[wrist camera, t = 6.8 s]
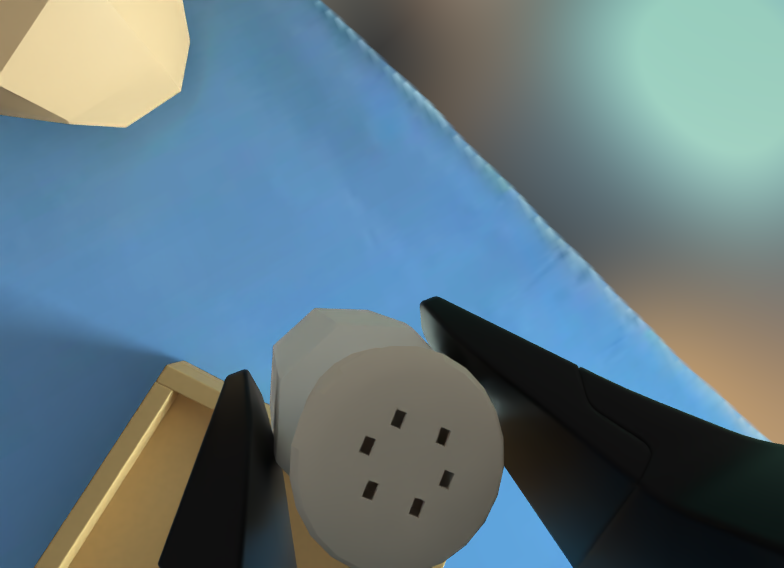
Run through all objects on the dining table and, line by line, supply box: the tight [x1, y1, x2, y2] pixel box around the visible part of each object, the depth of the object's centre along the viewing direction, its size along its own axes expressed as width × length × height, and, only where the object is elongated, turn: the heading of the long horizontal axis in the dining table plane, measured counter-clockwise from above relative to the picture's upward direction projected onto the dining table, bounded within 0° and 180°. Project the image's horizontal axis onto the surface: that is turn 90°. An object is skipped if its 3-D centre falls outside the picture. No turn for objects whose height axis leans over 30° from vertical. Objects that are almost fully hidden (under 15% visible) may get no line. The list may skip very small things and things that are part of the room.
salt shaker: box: [270, 308, 504, 568], centre depth 10 cm, size 5×5×11 cm
